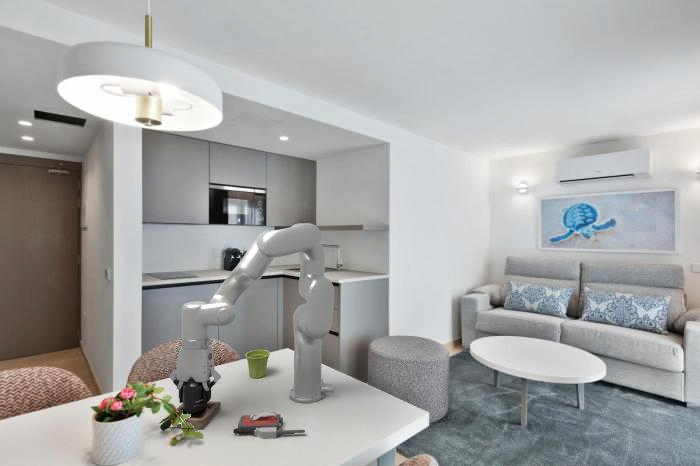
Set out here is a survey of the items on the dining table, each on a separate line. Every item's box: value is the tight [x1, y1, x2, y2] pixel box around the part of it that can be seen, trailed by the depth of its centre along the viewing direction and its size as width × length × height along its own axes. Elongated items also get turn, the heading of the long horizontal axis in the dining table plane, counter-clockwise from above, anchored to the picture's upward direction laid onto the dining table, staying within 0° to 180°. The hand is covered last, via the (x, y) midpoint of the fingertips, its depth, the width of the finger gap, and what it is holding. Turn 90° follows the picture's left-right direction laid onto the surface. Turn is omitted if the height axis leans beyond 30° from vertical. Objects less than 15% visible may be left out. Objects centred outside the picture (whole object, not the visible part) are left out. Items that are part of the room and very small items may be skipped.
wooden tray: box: [164, 400, 222, 431], centre depth 107 cm, size 11×11×2 cm
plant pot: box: [244, 349, 271, 379], centre depth 139 cm, size 9×9×9 cm
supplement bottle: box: [182, 376, 207, 417], centre depth 107 cm, size 7×7×12 cm
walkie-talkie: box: [233, 411, 306, 439], centre depth 101 cm, size 9×4×20 cm
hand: (194, 401), depth 107 cm, fingers closed on supplement bottle, 6 cm apart
